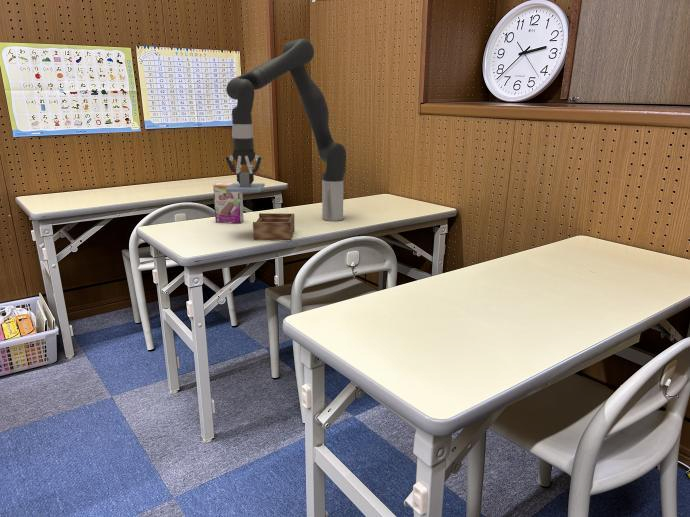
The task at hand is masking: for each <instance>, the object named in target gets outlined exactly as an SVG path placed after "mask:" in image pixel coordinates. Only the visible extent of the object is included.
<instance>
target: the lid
mask: <svg viewBox="0 0 690 517" xmlns="http://www.w3.org/2000/svg"><path fill="white" fill-rule="evenodd" d="M249 174H250V173H249V171H248V172H247V171H246V172H244V171H243V172H242V171H240V184H239V182H236V183H235V182H234V183H233V182H232V183H230V184H231V185H230V186H229V187H228V188H227V189H226V192H242V193H260V192H261V191H263V189H264V188H265V183H256V182H255V183H254V182H252V184H250V179H249Z"/></svg>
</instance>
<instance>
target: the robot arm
mask: <svg viewBox="0 0 690 517" xmlns="http://www.w3.org/2000/svg"><path fill="white" fill-rule="evenodd" d="M314 55H315V49H314V46H313V44H312V43H311V42H310V41H309V40H308V39H306V38H299V39H294V40H291V41H288V42H286V43H285V44H284V45H283V47H282V54H280V55H279V56H276V57H274V58H272V59H269V60H267V61H264V62H263V63H261V64H259V65H257V66H255V68H253V69H251V70H250V71H248V72H246V73H243V74H241V75H238V76H235V77H234V78H232V79H230V80H229V81H228V83H227V85H226V89H225V90H226V94H227V96H228V97H229V98H230V99H233V100H235V101H237V103H236V106H235V107H233V108H232V109H231V120H232V127H231V135H232V137H231V138H232V148H233V151H232V154H231V155H227V156H226V157H225V161H226V162H227V165H228V167H229V169H230V171H231V173H235V174H236V181H237V182H236V183H239V184H240V173H241V172H242V171H241V170H242V165H246V166H247V169H248V172H249V173H250V174H249V179H250V184H252V183H254V180H255V178H254V177H255V174H254V173H257V172H258V171H259V169H260V166H261V164H262V160H263V156H261V155H258V154H256V152H255V144H254V143H255V142H254V128H253V117H252V110H253V106H254V100H255V91H256V90H257V91H258V90H260V89H263V88H264V87H266V86H268V84H271V83H272V82H274V81H275V80H276V79H278V78H280V77H281V76H282V75H283V76H284V74H285V73H287V72H289V73H290V75H291V76H292V79H293V82H294V84H295V86H296V90H297V92H298V94H299V96H300V99H301V103H302V106H303V109H304V112H305V114H306V117H307V119H308V121H309V125H310V128H311V130H312V132H313V136H314V139H315V144H316V147H317V151H318V154H319V158H320V159H321V160H322V162H324V163H326V169H325V171H324V172H323V173H322V176H321V178H322V179H321V182H322V183H321V185H322V186H321V188H322V190H321V192H322V194H321V196H322V199H321V200H322V202H321V205H322V207H321V208H322V209H321V210H322V211H321V212H322V213H321V215H322V217H321V219H322V220H325V221H328V222H337V221H338V222H339V221H343V220H344V176H345V174H346V168H347V152H346V148H345V146H344V145H343V144H341V143H339V142H335V141H334V139H333V137H332V133H331V131H330V126H329V120H330V118H329V115H330V114H329V107H328V105H327V101H326V98H325V96H324V93H323V92H322V90H321V89H320V88H319V86H318V85H317V84H316V83H315V82H314V81H313V79H312V78H311V77H310V74H309V73H308V71H307V69H306V65H307V64H309V63H310V62H311V61H312V60H313V58H314ZM254 159H255V162H256V163H255V166H253V160H254ZM234 160H235V161H236V167H235V164H234V162H233V161H234ZM253 167H254V168H253Z"/></svg>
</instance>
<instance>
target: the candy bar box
mask: <svg viewBox="0 0 690 517" xmlns="http://www.w3.org/2000/svg"><path fill="white" fill-rule="evenodd" d="M231 184H232V183H227V182H226V183H225V182H217V183H214V184H213V186H212V187H213V201H214V214H215V215H214V216H215V217H214V218H215V223H217V222H232V223H231V224H242V223H243V222H244V220H245V218H244V203H243V202H244V201H243V198H244V197H243V192H226V189H227V188H228V187H229V186H230V185H231ZM241 222H242V223H241Z"/></svg>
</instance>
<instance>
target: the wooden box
mask: <svg viewBox="0 0 690 517" xmlns="http://www.w3.org/2000/svg"><path fill="white" fill-rule="evenodd" d="M294 230H296V229H295V213H282V212H281V213H277V212H275V213H272V212H271V213H270V212H269V213H268V212H267V213H265V212H261V213H260V212H259V214H258V218H257V220H256V221H253V222H252V231H253V241H254V240H290V241H289V242H291V241H292V239H291V238H293V236H294V234H295V233H294V232H295V231H294Z"/></svg>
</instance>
